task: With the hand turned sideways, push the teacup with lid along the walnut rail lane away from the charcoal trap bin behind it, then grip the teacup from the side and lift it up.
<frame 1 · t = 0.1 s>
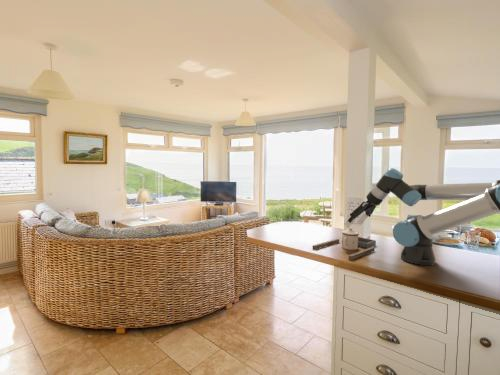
hand: (352, 224, 155), 15 cm above the table, tool tilted 35°, fingers open, 13 cm apart
trap bin: (360, 244, 171), on the table
walnut rail lane: (343, 250, 159), on the table
teacup with lid: (348, 248, 162), on the table
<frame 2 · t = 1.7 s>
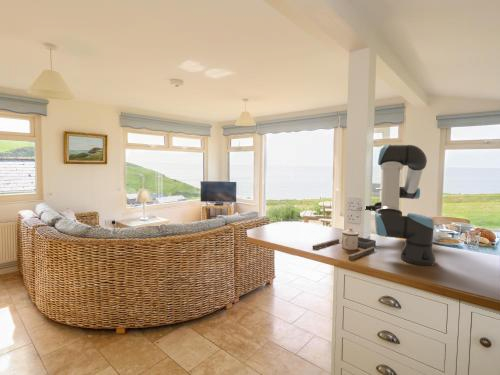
hand: (366, 210, 173), 20 cm above the table, tool horizontal, fingers open, 12 cm apart
nothing on the table moved.
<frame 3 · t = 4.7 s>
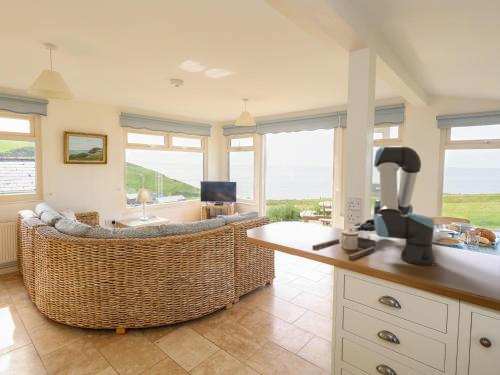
hand: (353, 229, 165), 10 cm above the table, tool horizontal, fingers closed
teacup with lid: (348, 248, 162), on the table, touching gripper
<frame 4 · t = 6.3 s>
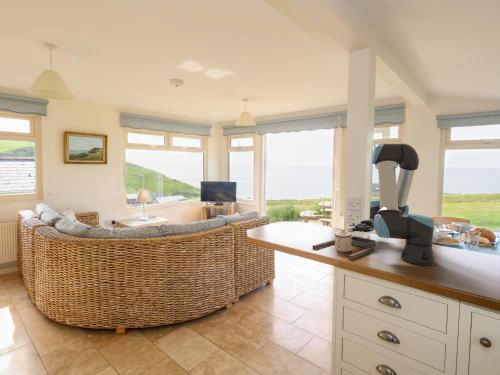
hand: (348, 230, 161), 11 cm above the table, tool horizontal, fingers closed
teacup with lid: (341, 250, 158), on the table, touching gripper
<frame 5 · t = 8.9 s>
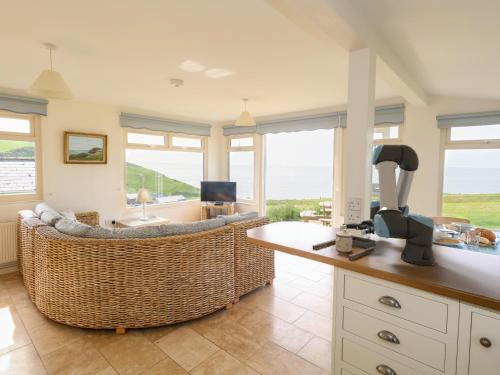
hand: (350, 230, 163), 10 cm above the table, tool horizontal, fingers open, 13 cm apart
teacup with lid: (342, 250, 158), on the table
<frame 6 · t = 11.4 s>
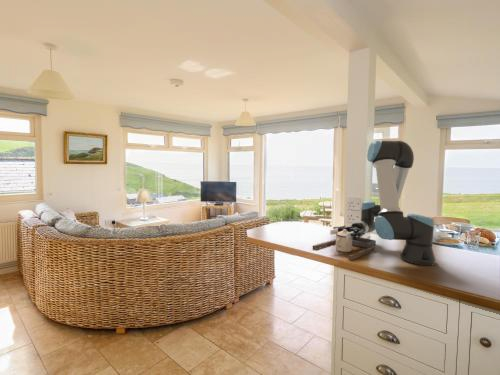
hand: (338, 233, 154), 10 cm above the table, tool horizontal, fingers closed on teacup with lid, 9 cm apart
teacup with lid: (342, 250, 158), on the table, touching gripper
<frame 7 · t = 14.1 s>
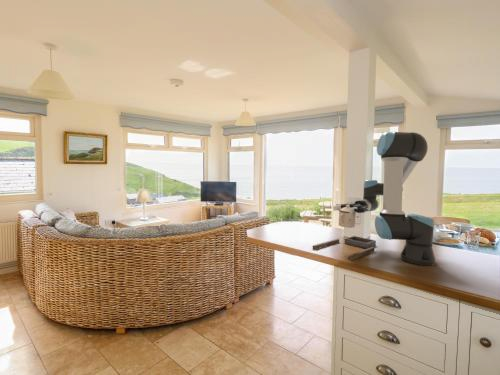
hand: (342, 209, 154), 23 cm above the table, tool horizontal, fingers closed on teacup with lid, 9 cm apart
teacup with lid: (345, 226, 158), point 13 cm above the table, touching gripper
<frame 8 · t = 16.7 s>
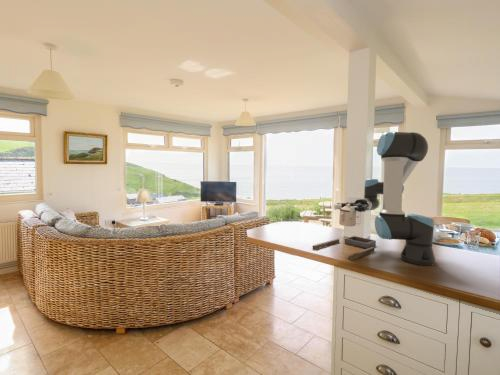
hand: (342, 208, 155), 24 cm above the table, tool horizontal, fingers closed on teacup with lid, 9 cm apart
teacup with lid: (345, 225, 159), point 14 cm above the table, touching gripper
at the end: teacup with lid inside the target area (3.0 cm from its centre), point 13.8 cm above the table; the gripper is holding teacup with lid; teacup with lid tilted 1° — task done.
